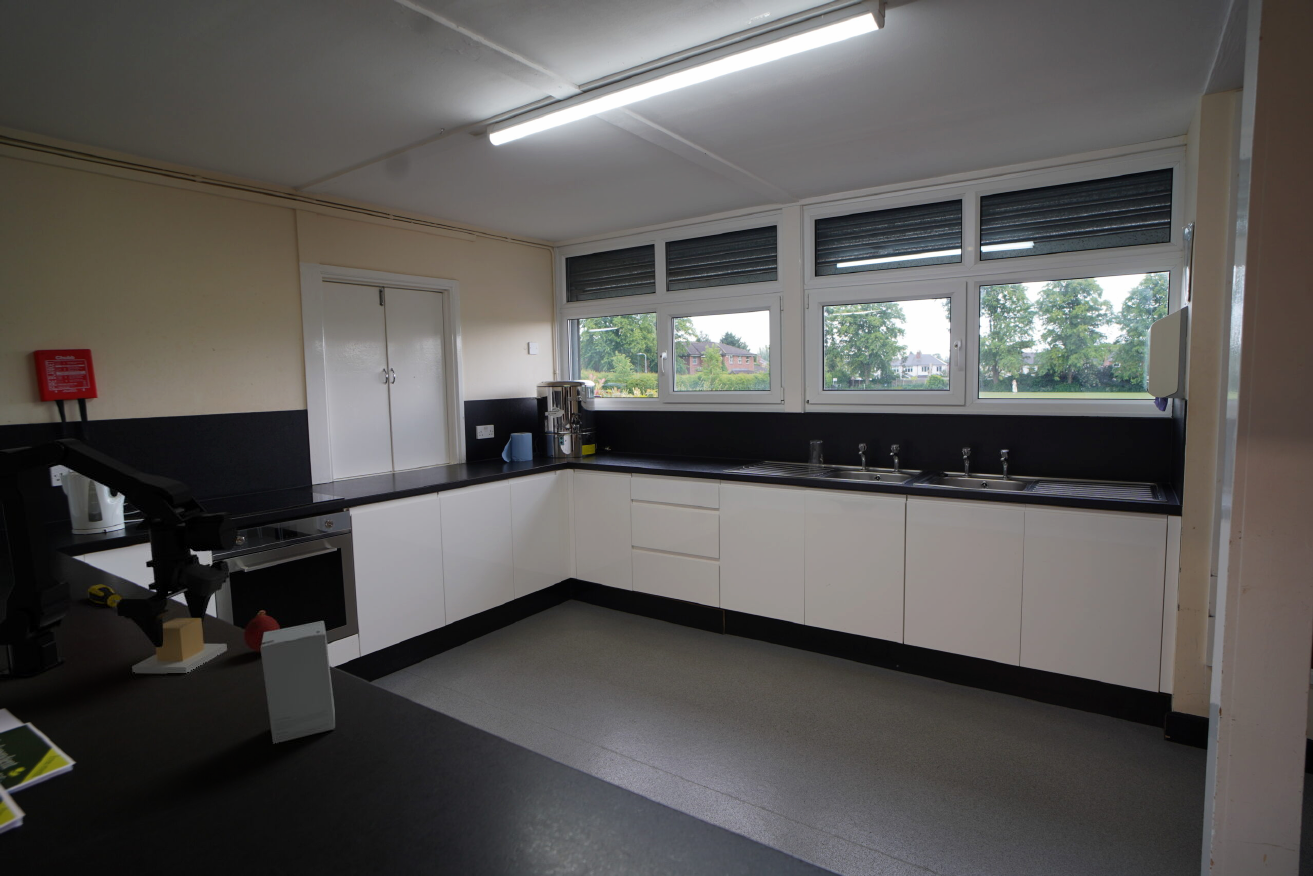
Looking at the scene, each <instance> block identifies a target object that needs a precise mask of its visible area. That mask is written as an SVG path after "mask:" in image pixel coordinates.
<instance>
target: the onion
mask: <svg viewBox="0 0 1313 876" xmlns="http://www.w3.org/2000/svg"><path fill="white" fill-rule="evenodd" d="M279 629H281V627H280V625H279V623H278V621H277V620H276V619H275V618H273V617H272V616H269V615H266V611H265V610H260V611H258V612H257V614H256V616H255V617H254V618H252V619H251V620H250V622H248V624H247V625H246V627H245V629H244V633H243V635H244V636H243V639H244V643H245V645H246V646H247V647H248V648H250V649H251V650H253V651H255V652H258V653H261V649H260V647H261V644H262V640H263V634H264V632H268V631H274V630H279Z"/></svg>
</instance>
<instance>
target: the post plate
mask: <svg viewBox="0 0 1313 876" xmlns="http://www.w3.org/2000/svg"><path fill="white" fill-rule="evenodd" d="M227 647H228V646H227V643H204V650H202V651H200V652H199V653H197V654H195V655H193V656H191V657H189V658H188V659H186V660H184V661H157V655H156V653H155V654H153V655H152V656H150V657H147V658H146V659H144V660H142V661H140V662H138V663H136V664H134V665H132V666H131V668H132V673H133V672H135V673H134V674H167V673H187V672H189V673H190V672H192V671H194V670H195V669H197V668H199V667H201V666H203V665H204V664H206V663H207V662H209V661H211V660H213V659H214V658H216V657H218V656H220V655H221V654H223V653H225V652H226V651H228V648H227ZM217 655H218V656H217ZM205 662H206V663H205ZM203 663H204V664H203ZM200 665H201V666H200ZM198 666H199V667H198ZM196 667H197V668H196ZM193 669H194V670H193ZM191 670H192V671H191ZM187 674H188V673H187Z"/></svg>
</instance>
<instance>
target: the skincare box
mask: <svg viewBox="0 0 1313 876" xmlns="http://www.w3.org/2000/svg"><path fill="white" fill-rule="evenodd" d="M327 639H328V638H327V632H326V625H325V621H324V620H320V621H315V622H311V623H305V624H300V625H295V626H291V627H290V626H289V627H285V628H280V629H279V630H274V631H268V632H264V634H263V640H262V644H261V647H260V649H261V652H260V656H261V662H262V671H263V677H264V685H265V692H266V700H267V707H268V716H269V722H270V724H269V725H270V731H271V737H272V744H273V745H276V744H278V743H279V742H280V743H282V742H283V743H284V742H288V741H290V740H294V739H295V740H296V739H299V738H304V737H307V736H310V735H315V734H319V733H324V732H327V731H332V730H335V728H336V716H335V714H336V712H335V703H334V702H335V701H334V695H333V694H334V692H333V685H332V677H331V668H330V660H329V658H330V657H329V649H328V648H329V647H328V640H327ZM275 743H276V744H275Z"/></svg>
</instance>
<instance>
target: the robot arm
mask: <svg viewBox="0 0 1313 876" xmlns="http://www.w3.org/2000/svg"><path fill="white" fill-rule="evenodd" d="M57 466H62V467H64V468H67V469H69V470H70V471H73V472H75V473H77V474H79V475H81V476H83V477H85V478H87V479H89V480H91V481H94V482H96V483H98V484H100V485H102V486H104V487H106V488H109V489H111V490H112V491H114V492H117V493H119V494H121V496H123V497H125V498H126V500H127V501H128V503H129V504H130V506H131V507H133V508H134V509H136V510H137V511H138V512H140V513H142V514H143V515H144V516H145V517H143V519H142V521H140V522H139V523H138V524H137V525H135V527H134V530H135V531H148V533H149V534H148V535H149V543H150V544H149V545H150V553H151V560H148V561H145V564H146V568H152V574H153V582H151V583H149V584H147V585H148V590H149V591H155V592H136V593H135V592H134V593H133V594H130V595H128V596H126V597H122V599H121V600H120V601H119V602H118V603H117V606H116V611H117V612H116V613H117V617H124V618H125V619H130V620H132V622H134V623H135V625H136V626H138V628H140V630H141V631H142V632H143V633H144V634H145V636H146V637H147V638H148V640H149V641H150V642H151V644H153V646H154V647H155V648H156V647H162V646H163V624H164V617H165V616H166V615H167V613H168V612H169V609H166V607H167V605H168V600H169V599H171V598H173V597H176V596H179V595H181V594H183V596H184V600H185V602H186V605H187V609H188V612H189V615H190V618H201V621H202V625H203V624H204V620H205V617H206V614H207V609H208V606H209V603H210V600H211V598H212V596H213V595H214V594H215V593H216V592H217V591H221V590H222V588H223V585H224V584H225V583H227V579H229V578H230V574H229V573H230V567H229V563H228V561H226V560H224V559H219V560H215V561H214V562H212V563H211V564H210V563H206V564H203V563H202V564H201V562H200V559H199V556H198V554H196V553H197V552H199V553H200V552H218V551H219V552H220V551H221V552H223V551H230V550H231V551H232V549H233V548H234V547H235V546H236V544H237V540H238V527H237V526H236V524H235V522H234V521H233V519H231V518H230V512H228V511H225V512H217V513H208V511H207V510H206V509H205V507H203V505H201V503H200V502H199V501H198V500H197V499H196V498H195V497H194V495H193V494H192V492H191V488H190V487H189V486H188V485H187V484H186V483H184V482H182V481H180V480H176V479H172V478H169V477H165V476H162V475H161V476H160V475H155V474H148V473H145V472H142V471H140V470H137V469H135V468H133V467H131V466H129V465H127V464H126V463H123V462H121V461H119V460H117V459H116V458H113V457H110V456H109V455H107V454H104V453H103V452H101V451H98V450H96V449H94V448H93V447H90V446H88V445H86V444H84V442H82V441H81V440H78V439H76V438H63V439H62V438H61V439H56V440H55V439H54V440H51V441H49V442H47V443H44V444H40V445H36V446H23V447H17V448H8V449H1V450H0V502H1V505H2V511H3V518H4V525H5V531H6V537H7V543H8V550H9V556H10V562H11V568H12V575H13V585H12V587H11V589H10V591H9V593H8V596H7V599H6V600H5V618H4V619H3V620H2V621H1V623H0V646H5V653H6V663H7V669H5V670H3V671H1V672H0V677H33V676H36V675H39V674H41V673H43V672H44V671H47V670H49V669H51V668H54V667H56V666H58V665H60V664H63V663H64V662H66V661H67V660H66V657H65V658H64V657H62V658H61V657H60V658H59V653H58V644H57V643H58V642H57V641H56V639H55V632H54V631H52V630H54V629H57V628H60V627H62V626H63V621H64V618H65V616H66V615H67V614H68V613H69V611H70V609H71V607H70V606H71V604H72V603H74V600H73V599H72V597H71V593H70V591H71V590H70V589H71V585H70V584H69V581H64V582H60V581H59V580H58V579H57V578H56V577H55V576H54V575H53V573H52V567H51V561H50V560H51V559H50V555H49V549H48V548H49V547H48V541H47V534H46V528H45V527H46V526H45V521H44V516H43V515H44V514H43V507H42V501H41V495H42V494H43V491H44V489H45V487H46V484H47V482H48V479H49V469H50V468H54V467H57ZM192 551H193V552H196V553H194V554H193V553H192Z"/></svg>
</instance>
